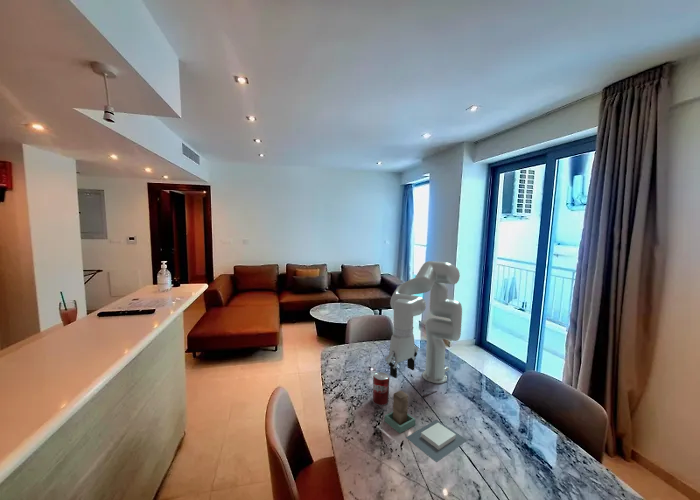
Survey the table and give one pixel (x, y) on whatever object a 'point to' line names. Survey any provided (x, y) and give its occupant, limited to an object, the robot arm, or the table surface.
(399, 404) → the brown wooden block
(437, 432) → the tile
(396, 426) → the holder
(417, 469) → the table surface
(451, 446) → the mat
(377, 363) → the table surface
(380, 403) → the soda can
